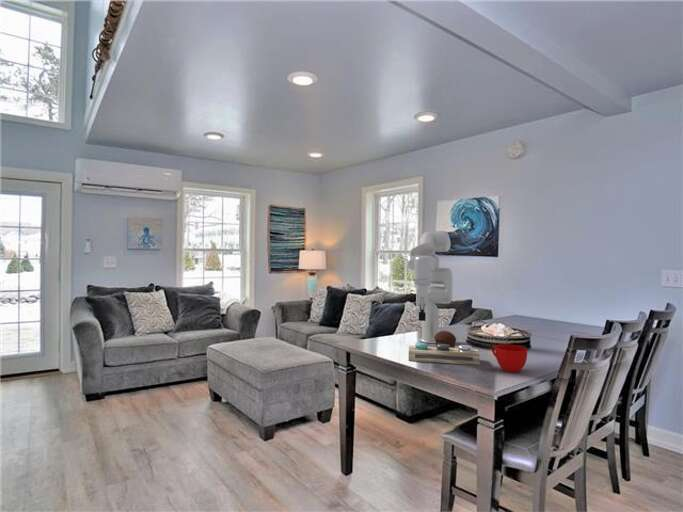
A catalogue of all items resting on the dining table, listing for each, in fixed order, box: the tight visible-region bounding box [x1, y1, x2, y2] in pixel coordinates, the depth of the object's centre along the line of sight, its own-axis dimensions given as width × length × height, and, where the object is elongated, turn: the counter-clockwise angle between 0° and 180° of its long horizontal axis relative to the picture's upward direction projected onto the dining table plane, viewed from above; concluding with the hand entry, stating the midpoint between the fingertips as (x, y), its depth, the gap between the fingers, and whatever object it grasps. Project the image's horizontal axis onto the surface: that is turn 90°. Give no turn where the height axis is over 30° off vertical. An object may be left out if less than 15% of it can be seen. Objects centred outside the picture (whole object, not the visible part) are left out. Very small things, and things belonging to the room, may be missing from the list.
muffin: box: [434, 330, 457, 348], centre depth 218 cm, size 12×11×10 cm
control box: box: [408, 345, 481, 366], centre depth 199 cm, size 10×32×5 cm, turn 79°
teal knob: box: [414, 342, 429, 350], centre depth 201 cm, size 6×6×6 cm
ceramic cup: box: [491, 343, 528, 373], centre depth 184 cm, size 13×17×10 cm
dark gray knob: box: [437, 344, 450, 351], centre depth 199 cm, size 6×6×6 cm
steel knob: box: [457, 344, 473, 352], centre depth 197 cm, size 6×6×6 cm
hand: (422, 320), depth 201 cm, fingers closed
